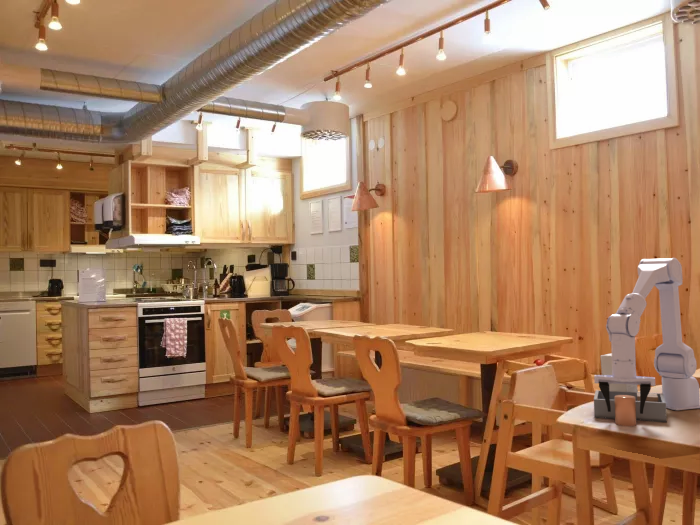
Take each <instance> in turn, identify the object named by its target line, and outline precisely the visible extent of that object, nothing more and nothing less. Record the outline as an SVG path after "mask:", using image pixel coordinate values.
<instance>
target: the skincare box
mask: <svg viewBox="0 0 700 525" xmlns="http://www.w3.org/2000/svg"><path fill="white" fill-rule="evenodd" d="M600 367H601V368H600V369H601V375H612V352H611V353H607V354H601V355H600ZM616 382H621V381H616ZM609 390H610V391H622V392H639V391H638V390H639V389H638V385H632V384H610V383H609Z"/></svg>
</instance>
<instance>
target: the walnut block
mask: <svg viewBox="0 0 700 525" xmlns="http://www.w3.org/2000/svg"><path fill="white" fill-rule="evenodd" d="M650 393H651V392H649V394H648V396H647V398H646V402H658V396H657V394H650ZM637 401H640V393H637Z"/></svg>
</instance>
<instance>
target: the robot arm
mask: <svg viewBox="0 0 700 525" xmlns="http://www.w3.org/2000/svg"><path fill="white" fill-rule="evenodd" d="M637 276H638V278H637V281H636V282H635V286H634V287H633V290H632V292H631V293H628V294H626V295H624V298H623V299H622V301H621V303H620V305H619V307H618V308H617V310H616V312H615V313H613V314H611V315H610V316H608V317H607V320H606V324H605V329H606V331H607V332H606V333H607V334H608V341H609V342H610V346H611V353H612V375H602V374H594V376H593V377H594V381H593V382H594V384H598V387H599V390H601V392H602V394H603V396H604V398H605V401H606V404H607V409H608V412H611V404H610V390H609V383H610V384H632V385H637V386H639V392H640V414H643V409H644V404H645V401H646V398H647V396H648V394H649V393H651V388H652V387H656V377H654V376H640V375H639V376H638V375H637V369H636V367H637V364H636V362H637V361H636V359H637V358H636V336H637V335H638V334H639V332H640V325H641V321H642V320H641V316H642V315H643V313H644V311H645V309H646V307H647V305H648V304H647V301H646V299H647V296H648V295H649V294H650V293H651V292H652V290H653V288H654V287H656V289H657V290H658V292H659V308H660V322H661V334H662V344H660V345H659V346H656V349H654V358H653V359H654V360H653V366H654V369H655V371H656V372H657V373H658V376H660V377H661V393H663V395H664V399H665V402H666V409H669V410H672V411H683V410H686V411H687V410H695V409H700V384H699V381H698V380H697V378H696V377H695V376H694V375H695V373H696V370H697V365H698V364H697V359H696V357H695V352H694V349H693V348H691V346H689V345H687V344H686V343H685V342H683V333H682V321H681V320H682V319H681V306H680V305H681V304H680V293H679V292H680V291H679V287H680V286H681V285H683V280H684V279H683V267H682V264H681V261H679V260H678V258H676V257H672V258H669V257H668V258H642V259H641V260H640V261H639V263H638V266H637ZM616 381H621V382H616Z"/></svg>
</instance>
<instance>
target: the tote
mask: <svg viewBox="0 0 700 525" xmlns="http://www.w3.org/2000/svg"><path fill="white" fill-rule="evenodd" d="M637 393H640V391H638V392H622V391H610V404H611V412H608V409H607V404H606V401H605V398H604V396H603V394H602V392H601V390H600V389H599V390H598V389H596V390H595V393H594V397H593V411H594V412H593V415H594V417H593V418H595V419H609V420H610V419H611V420H612V419H613V420H615V396H616V395H630V396H634V397H635V401H636V421H641V422H642V421H643V422H653V423H654V422H658V423H667V408H666V402H665V399H664V395H663V393H662V392H658V393H657V392H649V393H650V394H657V396H658V402H646V401H645V404H644V409H643V414H640V401H637Z"/></svg>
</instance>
